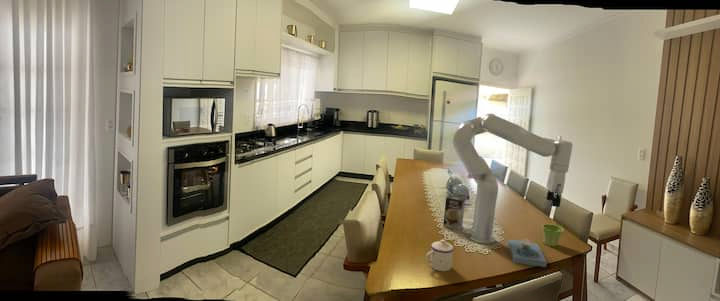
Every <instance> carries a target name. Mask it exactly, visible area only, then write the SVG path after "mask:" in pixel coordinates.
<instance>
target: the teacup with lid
mask: <svg viewBox="0 0 720 301" xmlns="http://www.w3.org/2000/svg"><path fill="white" fill-rule="evenodd" d="M430 247H431V251H429V252H427V253H426V255H425V260H426V262H427V263H429V265H430V267H431V268H432V269H433V270H435V271H439V272H447V271H448V272H449V271H450V270H451V269H452V264H453V254H454V246H453V245H452V244H451V243H449V242H446V239H441V240H439V241H433V243H431V246H430ZM429 256H430V260H429Z"/></svg>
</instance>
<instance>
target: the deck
mask: <svg viewBox="0 0 720 301" xmlns="http://www.w3.org/2000/svg"><path fill="white" fill-rule="evenodd" d="M521 241H522V240H517V239H510V238H508V239H507V247H508V249H509V252H510V256H511V258H512V260H513V261H512V262H513V263H515V264H523V265H529V266H537V267H543V268H546V267H547V263H548V261H547V259H546V258H545V256H544V253H543V252H542V250H541V248H540V246H539V244H538V243H537V242H531V247H530V248H523V247H522V245H521Z"/></svg>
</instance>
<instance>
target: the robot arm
mask: <svg viewBox="0 0 720 301" xmlns="http://www.w3.org/2000/svg"><path fill="white" fill-rule="evenodd" d="M485 133H489V134H491V135H493V136H496V137H498V138H500V139H503V140H504V141H505V140H506V141H508V142H509V143H511V144H514V145H516V146H519V147H521V148H523V149H525V150H527V151H529V152H532V153H534V154H537V155H539V156H541V157H545V158H547V157H551V158H550V165H549V170H550V171H549V174H548V178H547V182H546V188H547V195H546V200H547V201H551V206H552V207H557V208H560V205H561V201H562V194H563V192H564V189H565V181H566V175H567V173H568V172H569V166H570V161H571V157H572V156H571V155H572V150H573V143H572V142H571V141H568V140H562V139H560V140H559V139H558V140H556V139H552V138H547V137H542V136H540V135H537V134H535V133H533V132H531V131H529V130H528V129H526V128H524V127H522V126H521V125H519V124H518V123H517V124H516V123H514V122H511V121H510V120H508V119H507V120H506V119H504V118H503V117H500V116H497V115H495V114H494V113H486V114H483V115H480V116H477V117H474V118H471V119H467V120H464V121H463V122H461V123H459V126H458V127H457V128H456V131H455V132H454V134H453V138H452V139H453V140H452V144H453V148H454V150H455V152H456V154H457V156H458V158H459V160H460V161H461V163H462V164H463V166H464V168H465V170H466V173H468V175H469V176H471V177H472V178H473V180H474V182H475V184H476V194H475V195H476V196H475V204H474V211H473V212H474V213H473V223H472V226H471V228H467V227H462V232H463V233H465V234H466V235H468V238H469V240H471V241H473V242H475V243H479V244H485V245H488V244H489V245H490V244H494V242H496V238H495V236H493V232H494V224H495V215H496V214H495V213H496V209H497V208H496V206H497V200H498V195H499V194H498V193H499V184H498V181H497V178H496V177H495V175H494V173H493V171H492V169H491V168H490V166H489V164H488V163H487V162H486V160H485V159H484V157H482V156H481V155H479V153H478V152H477V150H476V148H475V146H474V145H473V143H472V140H473V138H474V137H475V136H477V135H480V134H481V135H482V134H485Z"/></svg>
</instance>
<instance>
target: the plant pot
mask: <svg viewBox="0 0 720 301" xmlns="http://www.w3.org/2000/svg"><path fill="white" fill-rule="evenodd" d="M541 225H542V226H541V227H542V231H543V233H542V234H543V235H542V236H543V244H545V245H546V246H550V247H557V246H558V244H559V241H560V238H561V235H562V234H563V232H564V231H565V230H564V228H563V227H561V226H559V225H556V224H551V223H545V224H541Z"/></svg>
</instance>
